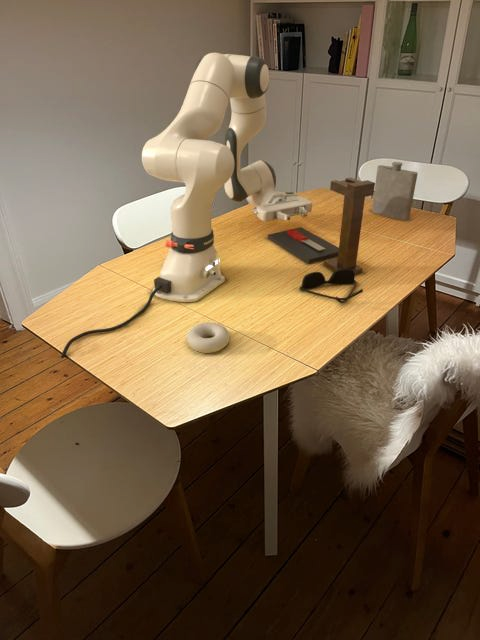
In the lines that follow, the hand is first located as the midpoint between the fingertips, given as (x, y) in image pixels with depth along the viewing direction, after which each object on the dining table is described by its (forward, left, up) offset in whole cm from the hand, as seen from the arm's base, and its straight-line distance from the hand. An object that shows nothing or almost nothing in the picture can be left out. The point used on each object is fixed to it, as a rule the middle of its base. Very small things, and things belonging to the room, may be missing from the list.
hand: (297, 216), depth 156 cm
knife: (-3, -4, -7) cm, 9 cm away
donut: (-66, +3, -9) cm, 67 cm away
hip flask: (+37, -27, -9) cm, 47 cm away
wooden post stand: (-16, -19, -9) cm, 27 cm away
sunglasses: (-34, -21, -9) cm, 41 cm away
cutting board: (-3, -4, -9) cm, 10 cm away
